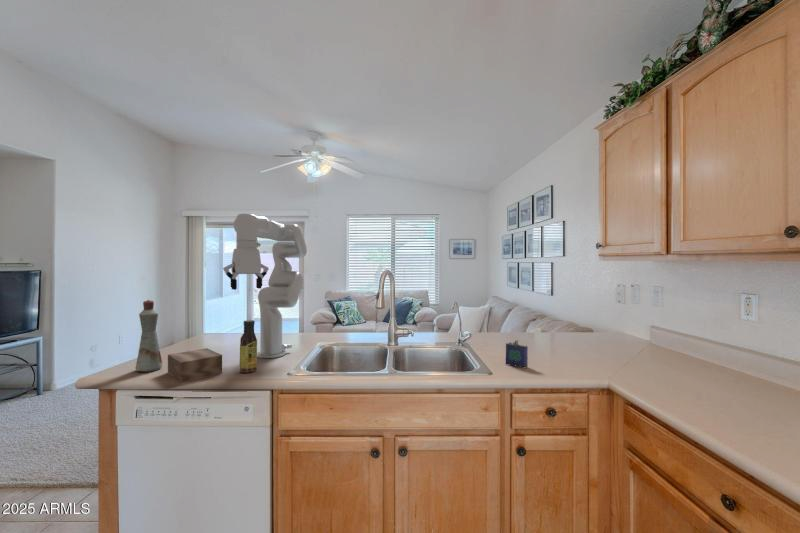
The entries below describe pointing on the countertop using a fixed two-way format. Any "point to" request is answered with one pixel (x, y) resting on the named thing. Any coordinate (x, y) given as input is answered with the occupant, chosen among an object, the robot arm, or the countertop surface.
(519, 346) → the flask
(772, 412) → the countertop surface
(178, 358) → the walnut block
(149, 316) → the bottle
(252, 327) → the sauce bottle
